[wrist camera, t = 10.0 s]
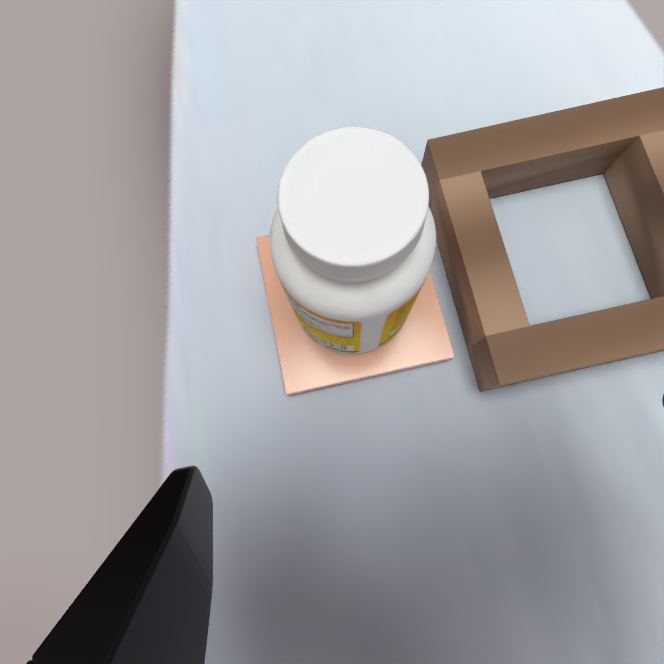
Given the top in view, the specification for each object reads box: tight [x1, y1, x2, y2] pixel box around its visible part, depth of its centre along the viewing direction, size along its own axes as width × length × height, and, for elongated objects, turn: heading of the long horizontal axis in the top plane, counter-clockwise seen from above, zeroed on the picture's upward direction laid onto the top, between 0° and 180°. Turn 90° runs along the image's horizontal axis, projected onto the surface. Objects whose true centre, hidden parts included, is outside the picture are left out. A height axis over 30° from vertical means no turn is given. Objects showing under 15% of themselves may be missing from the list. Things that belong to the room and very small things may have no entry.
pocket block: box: [421, 87, 664, 391], centre depth 21 cm, size 11×11×3 cm
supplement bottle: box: [270, 127, 436, 354], centre depth 17 cm, size 5×5×10 cm
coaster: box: [256, 235, 454, 395], centre depth 22 cm, size 8×8×1 cm
